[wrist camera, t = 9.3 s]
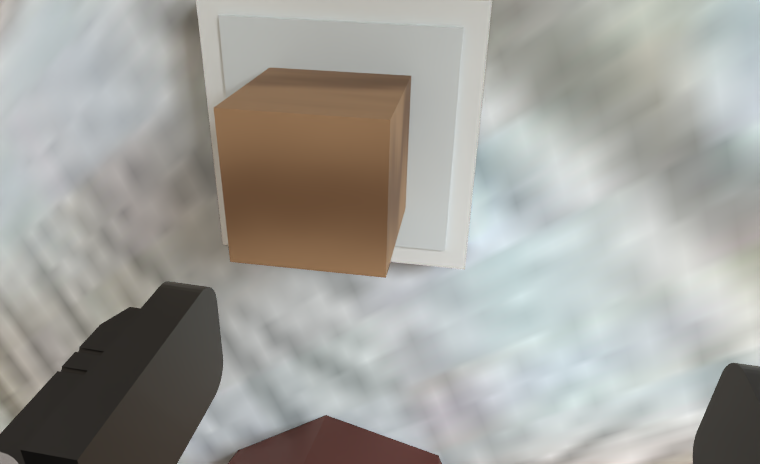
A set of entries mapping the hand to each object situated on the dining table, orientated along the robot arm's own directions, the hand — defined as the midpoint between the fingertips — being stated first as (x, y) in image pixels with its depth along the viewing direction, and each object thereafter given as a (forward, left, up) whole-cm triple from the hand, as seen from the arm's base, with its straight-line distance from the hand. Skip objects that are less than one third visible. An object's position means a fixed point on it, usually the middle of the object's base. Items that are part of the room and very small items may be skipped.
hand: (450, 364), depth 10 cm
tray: (+3, -6, -20) cm, 21 cm away
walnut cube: (+3, -6, -17) cm, 18 cm away
